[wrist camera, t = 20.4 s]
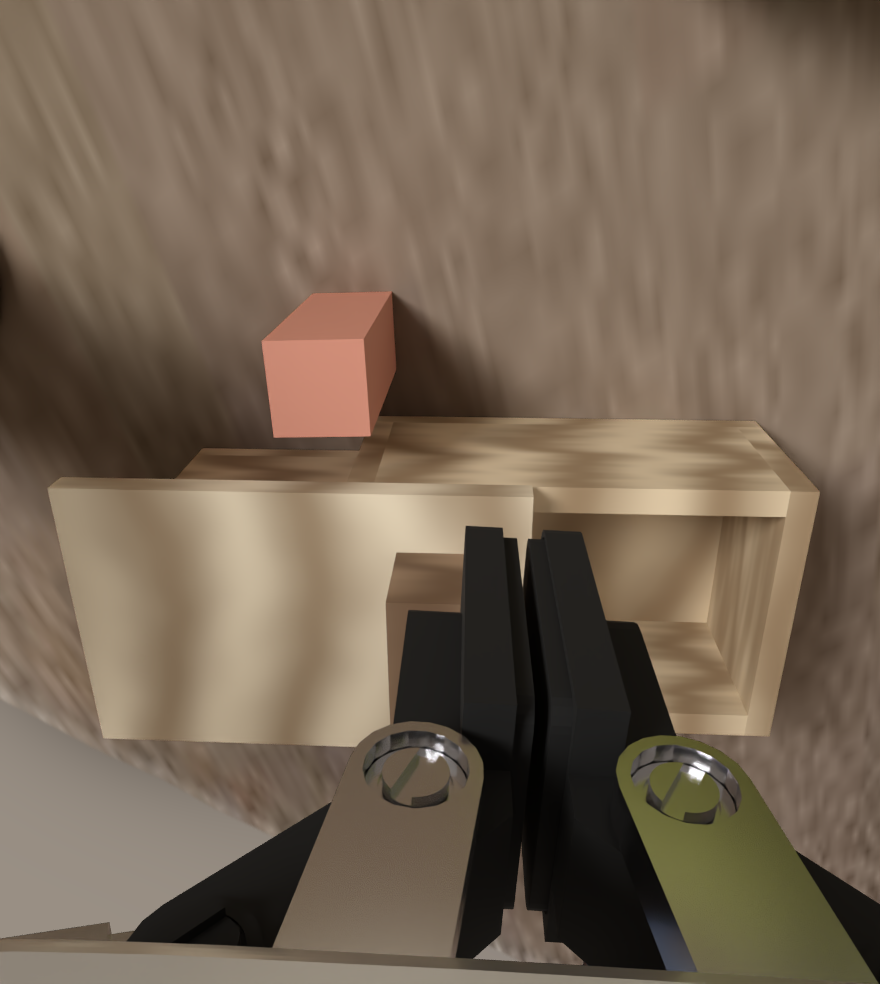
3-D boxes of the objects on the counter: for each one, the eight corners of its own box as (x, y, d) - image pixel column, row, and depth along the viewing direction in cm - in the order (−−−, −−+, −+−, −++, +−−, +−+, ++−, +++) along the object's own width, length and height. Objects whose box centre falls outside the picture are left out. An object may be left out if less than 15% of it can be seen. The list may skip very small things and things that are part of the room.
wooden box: (225, 617, 49) (172, 716, 41) (197, 413, 43) (130, 479, 35) (720, 631, 47) (769, 736, 39) (755, 420, 42) (820, 492, 34)
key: (320, 370, 42) (273, 437, 33) (312, 293, 40) (261, 341, 31) (396, 369, 42) (370, 436, 33) (391, 291, 40) (363, 338, 31)
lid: (113, 721, 40) (64, 800, 36) (61, 476, 35) (-6, 531, 30) (520, 735, 39) (525, 818, 35) (532, 485, 34) (539, 543, 29)
